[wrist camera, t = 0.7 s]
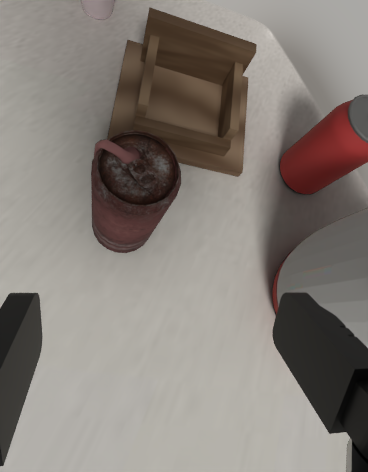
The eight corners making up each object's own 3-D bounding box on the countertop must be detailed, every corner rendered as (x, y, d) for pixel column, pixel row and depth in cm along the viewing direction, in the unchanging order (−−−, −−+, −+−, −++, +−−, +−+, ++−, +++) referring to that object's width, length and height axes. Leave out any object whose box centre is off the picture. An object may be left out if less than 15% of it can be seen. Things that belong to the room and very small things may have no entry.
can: (103, 189, 34) (109, 108, 21) (158, 212, 35) (195, 147, 22) (80, 239, 32) (70, 184, 19) (138, 262, 33) (167, 224, 20)
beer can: (329, 180, 43) (412, 131, 32) (298, 205, 41) (376, 161, 29) (300, 142, 43) (372, 79, 32) (267, 164, 41) (333, 105, 30)
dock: (238, 176, 39) (267, 146, 33) (106, 145, 36) (109, 104, 29) (244, 84, 43) (271, 40, 37) (126, 47, 40) (133, -9, 33)
